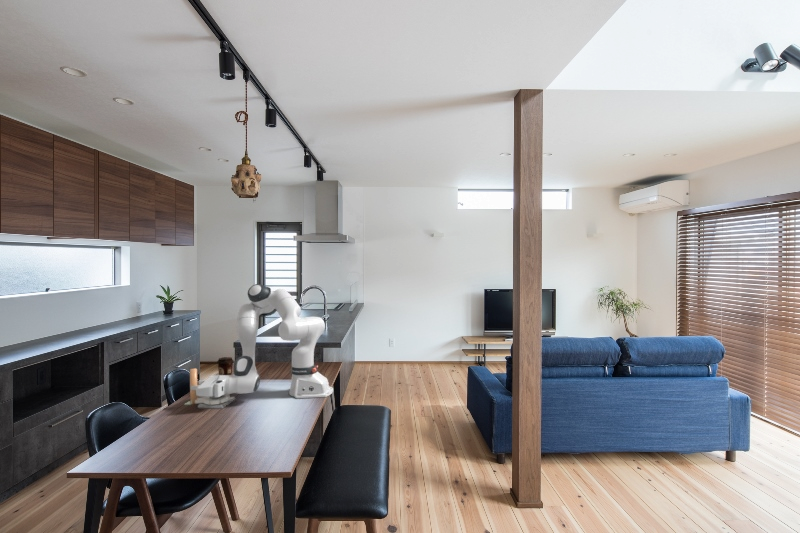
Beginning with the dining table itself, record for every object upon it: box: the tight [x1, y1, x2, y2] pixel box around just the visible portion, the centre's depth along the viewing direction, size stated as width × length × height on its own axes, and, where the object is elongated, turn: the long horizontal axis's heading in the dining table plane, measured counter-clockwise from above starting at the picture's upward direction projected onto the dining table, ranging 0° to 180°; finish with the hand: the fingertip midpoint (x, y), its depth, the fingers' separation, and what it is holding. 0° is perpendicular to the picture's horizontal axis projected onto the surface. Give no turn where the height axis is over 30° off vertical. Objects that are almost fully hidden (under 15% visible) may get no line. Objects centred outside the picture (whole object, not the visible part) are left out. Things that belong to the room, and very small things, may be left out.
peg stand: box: [189, 367, 231, 405], centre depth 186 cm, size 17×11×16 cm, turn 108°
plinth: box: [197, 396, 236, 409], centre depth 187 cm, size 12×12×4 cm
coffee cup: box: [216, 356, 235, 375], centre depth 224 cm, size 9×8×13 cm
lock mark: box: [183, 400, 192, 406], centre depth 187 cm, size 3×4×1 cm
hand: (193, 385), depth 184 cm, fingers open, 4 cm apart
